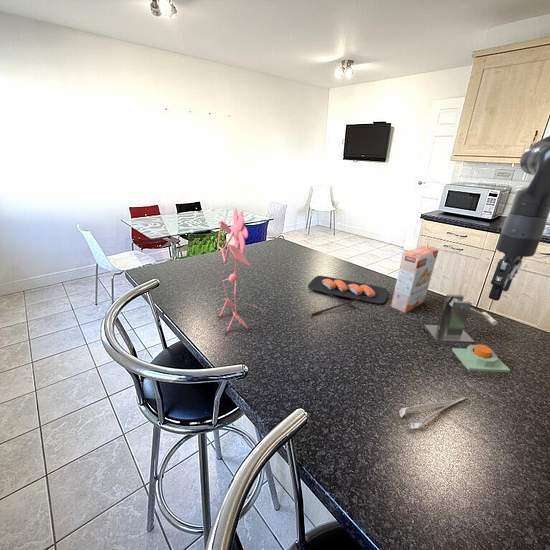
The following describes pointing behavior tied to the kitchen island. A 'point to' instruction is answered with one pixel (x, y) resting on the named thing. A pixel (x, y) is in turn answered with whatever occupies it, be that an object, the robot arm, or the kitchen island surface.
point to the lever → (478, 313)
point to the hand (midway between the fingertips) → (498, 294)
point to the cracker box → (414, 278)
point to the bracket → (452, 321)
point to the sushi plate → (348, 291)
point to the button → (482, 351)
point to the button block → (479, 360)
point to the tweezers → (426, 406)
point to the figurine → (239, 234)
